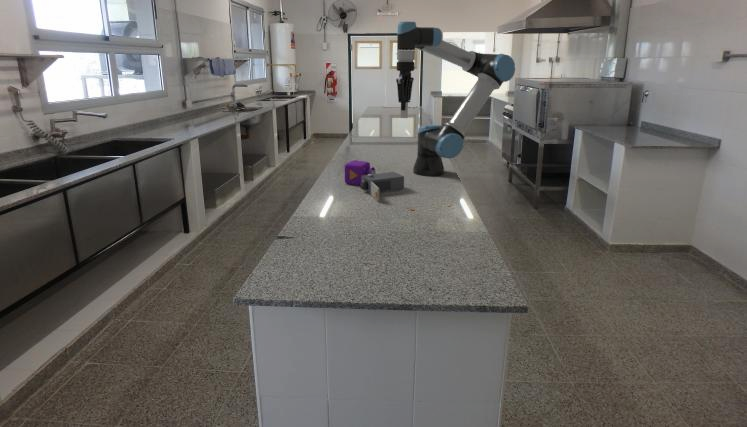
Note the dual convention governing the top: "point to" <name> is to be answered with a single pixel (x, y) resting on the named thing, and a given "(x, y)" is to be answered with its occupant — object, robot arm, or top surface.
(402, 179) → the box
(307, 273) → the top surface
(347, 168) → the toy camera
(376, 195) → the side door
